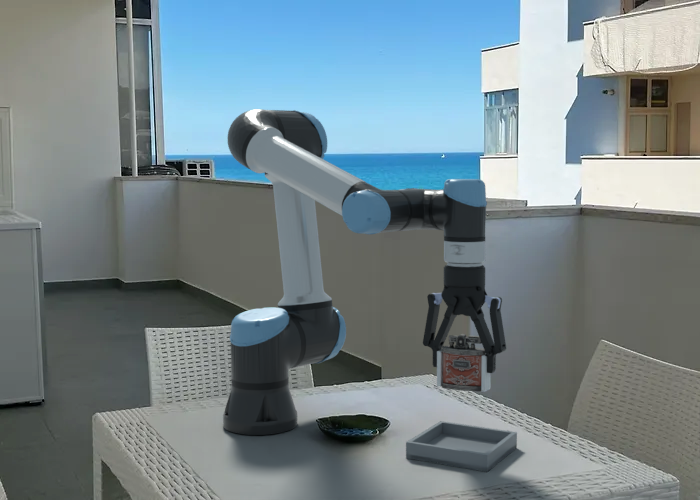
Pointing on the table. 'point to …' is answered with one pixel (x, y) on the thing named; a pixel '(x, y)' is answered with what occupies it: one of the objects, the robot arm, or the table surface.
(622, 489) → the table surface
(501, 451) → the tray
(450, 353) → the lighter
